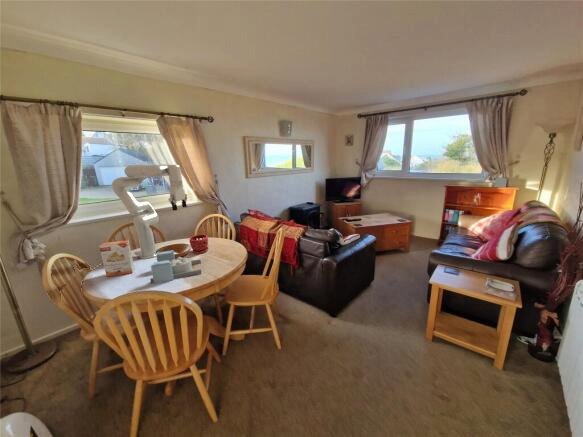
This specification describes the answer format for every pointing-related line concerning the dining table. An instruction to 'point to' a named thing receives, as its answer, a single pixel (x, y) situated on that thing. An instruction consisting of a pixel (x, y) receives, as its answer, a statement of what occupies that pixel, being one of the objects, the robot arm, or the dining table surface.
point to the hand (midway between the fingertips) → (179, 208)
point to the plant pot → (199, 243)
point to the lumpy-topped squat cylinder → (181, 265)
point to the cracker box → (117, 258)
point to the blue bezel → (163, 267)
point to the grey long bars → (185, 272)
